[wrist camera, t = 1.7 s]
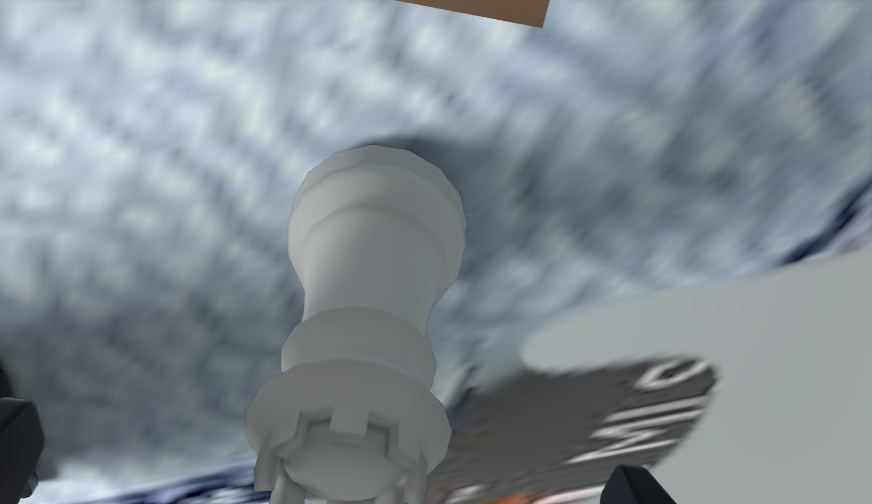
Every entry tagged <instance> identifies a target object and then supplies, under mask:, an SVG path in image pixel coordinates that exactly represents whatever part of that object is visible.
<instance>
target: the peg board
mask: <svg viewBox="0 0 872 504" xmlns="http://www.w3.org/2000/svg"><path fill="white" fill-rule="evenodd" d="M397 1H402V2H407V3H413V4H418V5H423V6H429V7H434V8H439V9H444V10H450V11H455V12H460V13H466V14H471V15H476V16H481V17H487V18H492V19H497V20H503V21H508V22H513V23H518V24H524V25H529V26H534V27H540V28H542V27H543V23H544V20H545V16H546V12H547V8H548V4H549V1H550V0H397Z"/></svg>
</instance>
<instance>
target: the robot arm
mask: <svg viewBox="0 0 872 504" xmlns="http://www.w3.org/2000/svg"><path fill="white" fill-rule="evenodd" d="M44 443H45V436H44V431H43V428H42V424H41V421H40V417H39V414H38V410H37V407H36V404H35V403H34V402H33V401H31V400H27V399H18V398H12V397H11V394H10V391H9V388H8V385H7V382H6V378H5V375H4V372H3V370H2V369H1V367H0V504H18V503H19V501H20V499H21V498H28V497H30V496H31V495H32V493H33V492H34V490H35V489H36V487H37V486H38V479H37V476H36V473H35V469H34V468H35V466H36V464H37V462H38V460H39V458H40V455H41V453H42V451H43V447H44ZM600 504H676V502H675V501H674V500H673V499H672V498H671V497H670V496H669V494H668V493H667V492H666V491H665V490H664V489H663V487H662V486H661V485H660V484H659V483H658V482H657V480H656V479H655V478H654V477H653V476H652V475H651V474H650V472H649V471H648V470H647V469H645V468H644V467H642V466H639V465H631V464H619V465H617V466H616V467H615V469H614V471H613V473H612V474H611V476H610V478H609V480H608V482H607V484H606V485H605V487H604V489H603V491H602V493H601V497H600Z"/></svg>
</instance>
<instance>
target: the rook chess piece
mask: <svg viewBox="0 0 872 504" xmlns="http://www.w3.org/2000/svg"><path fill="white" fill-rule="evenodd" d="M466 226H467V222H466V218H465V214H464V209H463V205H462V201H461V197H460V194H459V193H458V191H457V190H456V189H455V187H454V186H453V185H452V184H451V182H450V181H449V180H448V178H447V177H446V176H445V174H444V173H443V172H442V171H441V169H440V168H439V167H437V166H435V165H433V164H431V163H430V162H428V161H426V160H424V159H423V158H421V157H419V156H417V155H416V154H414V153H412V152H410V151H409V150H404V149H397V148H390V147H384V146H377V145H367V146H363V147H358V148H354V149H350V150H345V151H341V152H336V153H334V154H333V155H332V156H330V157H329V158H328V159H326V160H325V161H323V162H322V163H321V164H319V165H318V166H316V167H315V168H314V169H312V170H311V171H309V172H308V174H307V176H306V177H305V179H304V181H303V183H302V185H301V186H300V188H299V190H298V192H297V194H296V196H295V197H294V199H293V211H292V213H291V215H290V217H289V223H288V254H289V258H290V260H291V263H292V265H293V267H294V269H295V272H296V274H297V276H298V278H299V281H300V283H301V285H302V287H303V289H304V291H305V304H304V314H303V318H302V321H301V323H300V324H298V325H297V326H295V327H294V328H293V330H292V332H291V333H290V335H289V336H288V338H287V339H286V341H285V343H284V344H283V346H282V348H281V371H282V373H281V374H279V375H278V376H276V377H274V378H273V379H271V380H269V381H268V382H266V383H264V384H262V385H261V387H260V389H259V390H258V392H257V393H256V395H255V396H254V398H253V399H252V401H251V403H250V404H249V406H248V407H247V409H246V438H247V440H248V441H249V443H250V445H251V446H252V448H253V450H254V451H255V453H256V455H257V457H258V458H257V462H256V465H255V468H254V491H272V494H271V498H270V502H269V504H304V502H306V503H309V504H407V503H409V504H423V502H424V498H425V495H426V491H427V487H428V474H429V473H430V472H431V471H432V470H433V469H434V468H435V467H436V466H437V465H438V464H439V463H440V462H441V461H442V460H443V459H444V458H445V455H446V451H447V447H448V444H449V440H450V436H451V433H452V431H451V428H450V425H449V422H448V419H447V416H446V413H445V410H444V407H443V404H442V403H441V402H440V401H439V400H438V399H437V398H436V397H435V396H434V395H433V394H432V393H430V392H429V389H430V388H431V387H432V384H433V379H434V375H435V370H436V366H437V365H436V362H435V358H434V355H433V352H432V349H431V346H430V343H429V342H428V341H427V340H426V326H427V321H428V317H429V312H430V310H431V309H432V308H433V306H434V305H435V304H436V302H438V301H439V300H440V299H441V297H442V296H443V295H444V293H445V292H446V291H447V290H448V288H449V287H450V286H451V284H452V283H453V282H454V281H455V279H456V278H457V275H458V273H459V271H460V266H461V262H462V258H463V253H464V249H465V245H466V240H465V236H464V235H465V231H466Z"/></svg>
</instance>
